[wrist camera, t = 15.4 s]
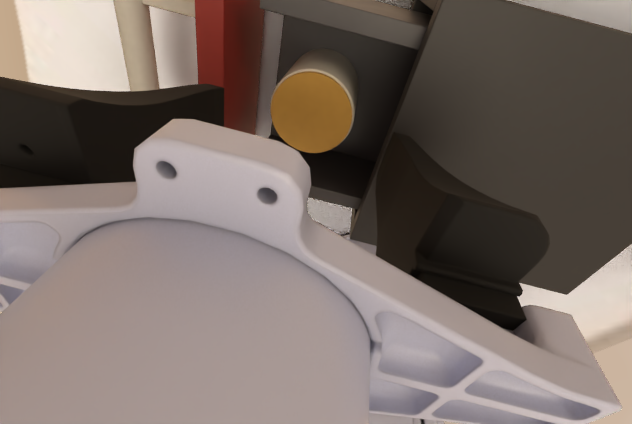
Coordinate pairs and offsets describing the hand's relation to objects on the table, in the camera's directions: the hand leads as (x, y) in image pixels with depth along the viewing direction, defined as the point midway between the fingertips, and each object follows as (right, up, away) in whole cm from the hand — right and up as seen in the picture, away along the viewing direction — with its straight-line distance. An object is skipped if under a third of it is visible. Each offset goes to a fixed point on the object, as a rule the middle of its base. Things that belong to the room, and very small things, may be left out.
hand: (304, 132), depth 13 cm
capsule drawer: (-1, +5, +5) cm, 7 cm away
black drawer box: (+11, +3, +6) cm, 13 cm away
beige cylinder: (+1, +4, +5) cm, 6 cm away
